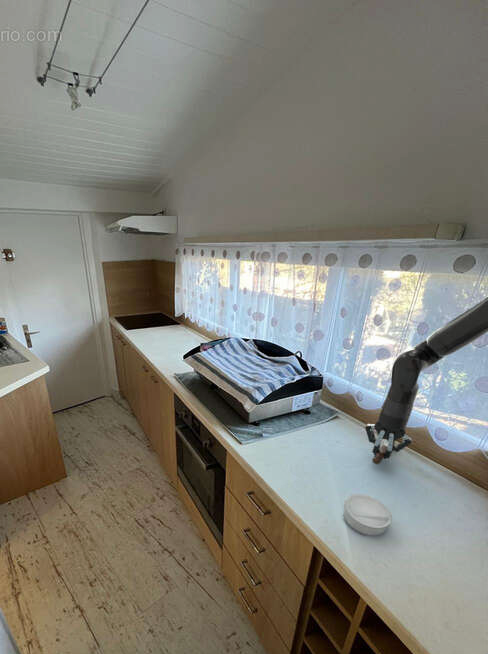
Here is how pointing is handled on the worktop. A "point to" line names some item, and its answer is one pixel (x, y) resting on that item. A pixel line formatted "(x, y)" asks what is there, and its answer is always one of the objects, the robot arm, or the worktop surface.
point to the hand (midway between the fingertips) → (380, 455)
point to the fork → (380, 453)
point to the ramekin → (366, 514)
